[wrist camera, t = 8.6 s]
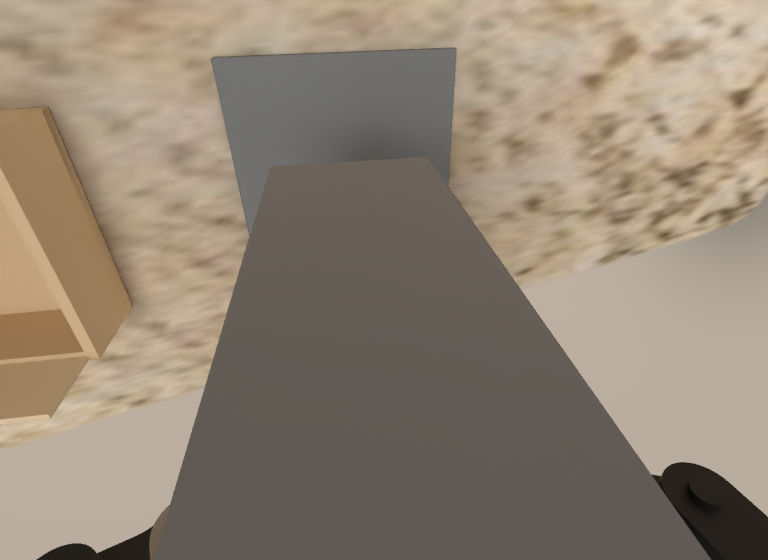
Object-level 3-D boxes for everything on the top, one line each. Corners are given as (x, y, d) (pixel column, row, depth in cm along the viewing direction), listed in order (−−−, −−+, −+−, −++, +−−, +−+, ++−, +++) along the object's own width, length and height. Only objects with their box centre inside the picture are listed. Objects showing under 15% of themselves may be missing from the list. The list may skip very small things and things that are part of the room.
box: (270, 166, 13) (-47, 1223, 2) (427, 156, 14) (984, 947, 2) (302, 356, 18) (271, 1025, 6) (421, 343, 18) (601, 944, 7)
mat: (213, 57, 21) (210, 58, 21) (453, 47, 22) (456, 48, 22) (258, 266, 28) (257, 271, 27) (441, 251, 29) (443, 255, 28)
